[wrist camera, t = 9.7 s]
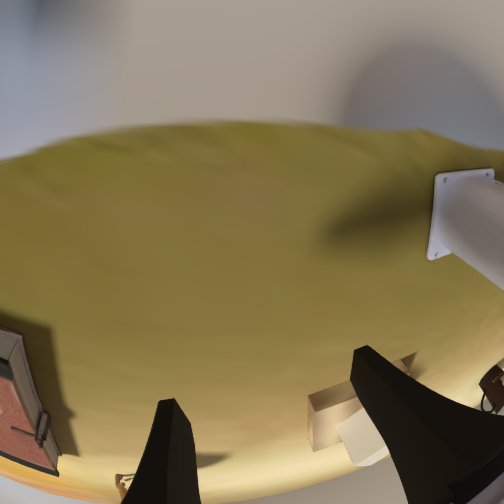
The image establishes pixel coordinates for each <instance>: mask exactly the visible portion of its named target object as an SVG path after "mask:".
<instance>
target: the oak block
mask: <svg viewBox="0 0 504 504" xmlns="http://www.w3.org/2000/svg"><path fill="white" fill-rule="evenodd" d="M392 364H393V365H394V366H396V367H397V368H399V369H400V370H401V371H403V372H404V373H406V374H407V375H410V372H409V370H408V369H407V368H406V366H405V365H404V364H403V362H402V361H401V360H398V361H396V362H394V363H392ZM361 408H363V406H362V404H361V403H360V401H359V399H358V397H357V395H356V392H355V390H354V388H353V386H352V383H351V381H348V382H345V383H343V384H340V385H337V386H335V387H332V388H329V389H326V390H323V391H320V392H317V393H314V394H311V395H308V440H309V443H310V445H311V448H312V450H313V452H315V451H318V450H321V449H324V448H327V447H330V446H333V445H335V444H338V443H341V442H343V441H342V439H341V437H340V435H339V433H338V431H337V428H336V426H337V425H339V424H340V423H342V422H343V421H345V420H346V419H347V418H349V417H350V416H352V415H353V414H354V413H356V412H357V411H359V410H360V409H361Z"/></svg>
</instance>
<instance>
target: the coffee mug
mask: <svg viewBox="0 0 504 504" xmlns="http://www.w3.org/2000/svg"><path fill="white" fill-rule="evenodd" d="M479 386H480V387H481V389H482V390H483V392H484V394H483V397H482V400H481V411H484V412H488V413H492V412H493V411H495V412H496V414H497V415H498V414H500V413H501V412H502V411H503V410H504V371H503V370H502V369H501V368H500V367H498V366H497V365H495V366H493V367H492V368H491V369H490V370H489V371H488V372H487V373H486V374H485V375H484V377H483V378H482V379H481V381H480V383H479ZM485 395H486V397H487V399H488V400H489V402H490V404H491V405H492V407H493V408H492V410H491V411H485V410H484V409H483V400H484V397H485Z"/></svg>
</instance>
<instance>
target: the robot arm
mask: <svg viewBox="0 0 504 504" xmlns="http://www.w3.org/2000/svg"><path fill="white" fill-rule="evenodd" d="M450 253H454V254H455V255H457V256H458V257H459V258H461V259H462V260H464V261H465V262H466V263H468V264H469V265H471V266H472V267H473V268H475V269H476V270H477V271H479V272H480V273H481V274H483V275H484V276H485V277H487V278H488V279H489V280H490V281H492V282H493V283H494V284H496V285H497V286H498V287H499V288H501V289H502V290H503V291H504V183H502V182H499V181H497V180H495V179H494V170H493V169H491V168H486V169H475V170H465V171H455V172H446V173H439V174H437V175H436V177H435V188H434V201H433V212H432V222H431V230H430V238H429V245H428V252H427V258H428V259H429V260H434V259H437V258H439V257H442V256H445V255H448V254H450ZM350 381H351V383H352V386H353V388H354V390H355V392H356V395H357V397H358V399H359V401H360V403H361V404H362V406H363V407H364V409H365V411H366V412H367V414H368V416H369V417H370V419H371V420H372V422H373V424H374V425H375V427H376V429H377V430H378V432H379V433H380V435H381V437H382V438H383V440H384V442H385V444H386V446H387V448H388V450H389V453H390V455H391V457H392V459H393V462H394V464H395V466H396V469H397V471H398V474H399V476H400V479H401V482H402V485H403V488H404V491H405V494H406V497H407V500H408V504H504V416H502V415H497V414H492V413H488V412H484V411H480V410H477V409H474V408H471V407H468V406H465V405H463V404H460V403H457V402H455V401H453V400H451V399H448V398H446V397H444V396H442V395H440V394H438V393H436V392H434V391H433V390H431V389H429V388H427V387H426V386H424V385H422V384H421V383H419V382H418V381H416V380H415V379H413V378H411V377H410V376H409V375H407V374H406V373H404V372H403V371H401V370H400V369H399V368H397V367H396V366H394V365H393V364H392V363H390V362H389V361H388V360H386V359H385V358H384V357H382V356H381V355H380V354H379V353H377V352H376V351H375V350H373V349H372V348H371V347H370V346H368V345H366V346H363V347H361V348H358V349H356V350H354V355H353V362H352V369H351V376H350ZM121 504H201V500H200V494H199V487H198V476H197V465H196V453H195V443H194V438H193V433H192V428H191V423H190V422H189V420H188V419H187V417H186V415H185V414H184V412H183V411H182V409H181V408H180V406H179V405H178V403H177V401H176V400H175V398H173V399H166V400H160V401H159V402H158V405H157V409H156V413H155V417H154V421H153V424H152V428H151V431H150V435H149V438H148V441H147V444H146V447H145V450H144V453H143V456H142V458H141V461H140V463H139V466H138V469H137V471H136V474H135V476H134V478H133V480H132V483H131V485H130V487H129V489H128V491H127V493H126V495H125V497H124V498H123V500H122V502H121Z"/></svg>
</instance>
